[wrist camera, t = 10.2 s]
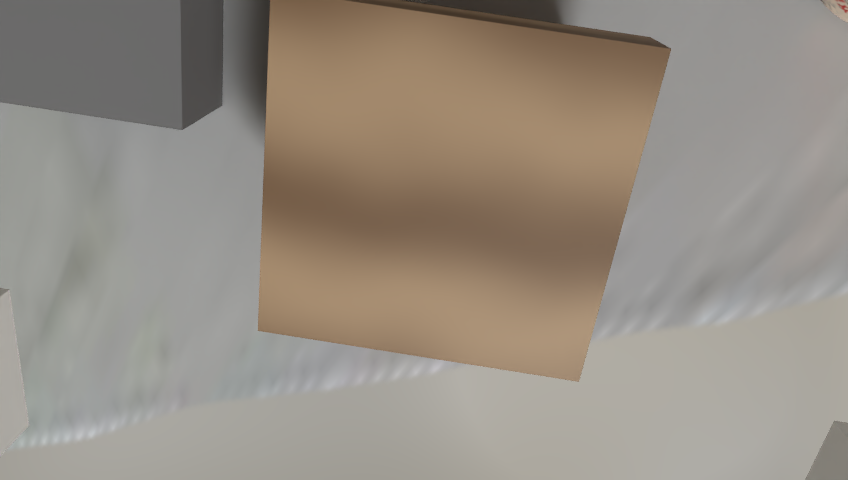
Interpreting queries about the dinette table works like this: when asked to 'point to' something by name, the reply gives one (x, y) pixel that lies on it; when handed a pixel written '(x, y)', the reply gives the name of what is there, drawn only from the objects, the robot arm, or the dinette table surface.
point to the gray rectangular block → (114, 58)
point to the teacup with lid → (838, 8)
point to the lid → (447, 178)
